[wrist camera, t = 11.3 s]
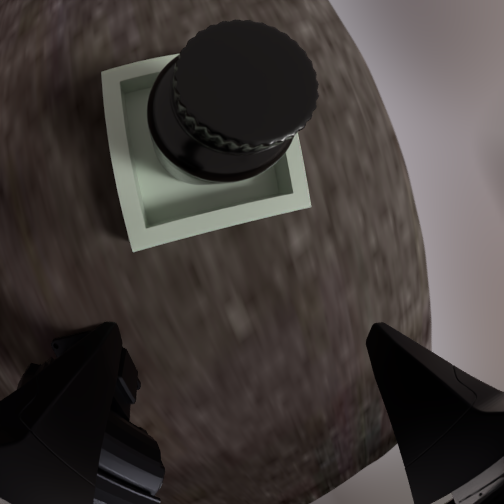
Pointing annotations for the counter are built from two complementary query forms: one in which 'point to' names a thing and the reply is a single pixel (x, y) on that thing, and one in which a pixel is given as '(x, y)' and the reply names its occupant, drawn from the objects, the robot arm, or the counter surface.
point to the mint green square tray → (173, 190)
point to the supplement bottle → (230, 103)
